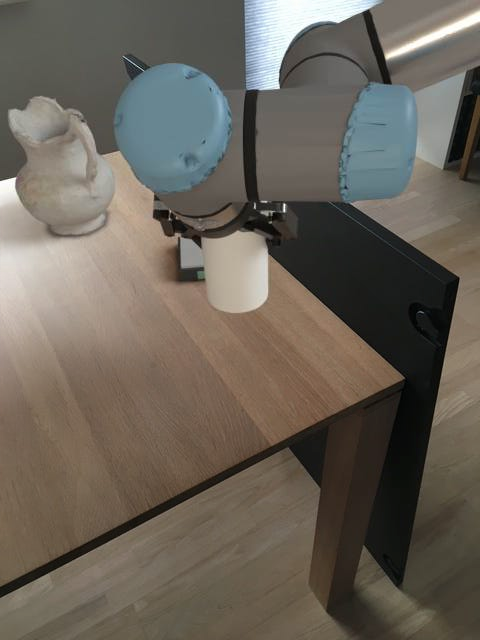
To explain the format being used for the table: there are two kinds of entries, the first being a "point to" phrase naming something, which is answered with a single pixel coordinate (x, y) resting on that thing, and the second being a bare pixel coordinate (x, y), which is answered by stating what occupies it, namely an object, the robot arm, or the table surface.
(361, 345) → the table surface
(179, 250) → the scale
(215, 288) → the cup
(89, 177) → the ceramic pitcher
